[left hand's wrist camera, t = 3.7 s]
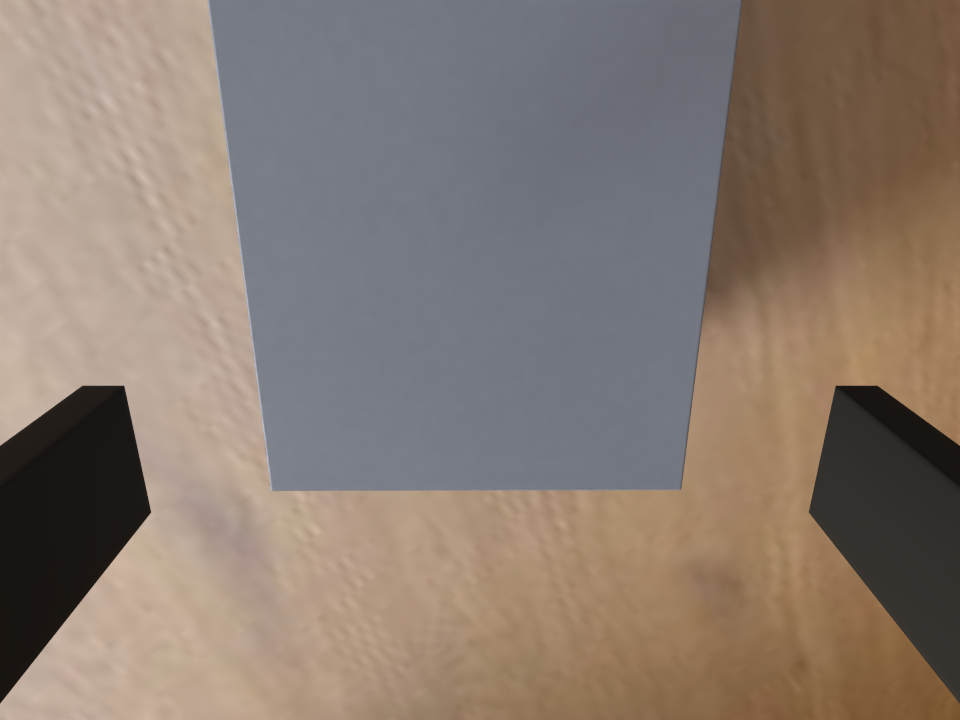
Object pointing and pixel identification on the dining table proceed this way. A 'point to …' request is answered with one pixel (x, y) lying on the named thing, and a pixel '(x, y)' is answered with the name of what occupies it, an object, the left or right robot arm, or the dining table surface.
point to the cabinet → (475, 234)
